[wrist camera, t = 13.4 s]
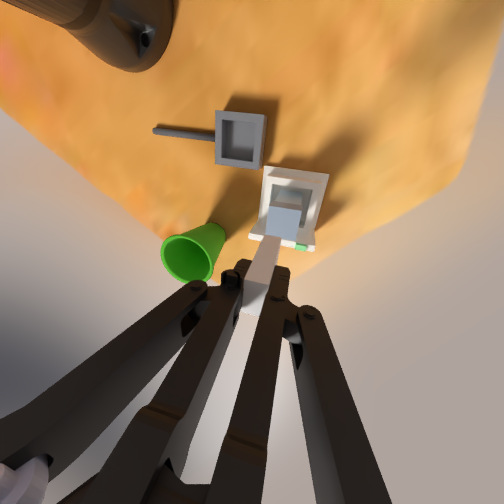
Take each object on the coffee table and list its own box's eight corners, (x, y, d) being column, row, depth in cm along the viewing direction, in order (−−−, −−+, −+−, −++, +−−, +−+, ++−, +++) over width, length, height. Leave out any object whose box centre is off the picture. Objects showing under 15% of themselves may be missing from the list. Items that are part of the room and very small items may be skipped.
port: (265, 165, 33) (254, 171, 26) (329, 174, 31) (334, 182, 24) (258, 223, 38) (247, 240, 31) (313, 233, 36) (313, 253, 29)
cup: (235, 215, 38) (211, 239, 29) (235, 257, 42) (214, 290, 33) (191, 210, 40) (155, 231, 30) (196, 250, 44) (165, 280, 35)
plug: (280, 188, 33) (268, 205, 24) (304, 191, 32) (301, 210, 24) (276, 211, 35) (265, 235, 26) (299, 215, 34) (295, 240, 25)
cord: (154, 127, 34) (150, 127, 33) (221, 135, 32) (219, 135, 31) (155, 134, 35) (151, 134, 34) (221, 142, 33) (219, 142, 32)
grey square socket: (222, 112, 31) (215, 110, 28) (267, 116, 29) (264, 114, 27) (221, 162, 34) (215, 164, 32) (261, 168, 33) (258, 170, 31)
